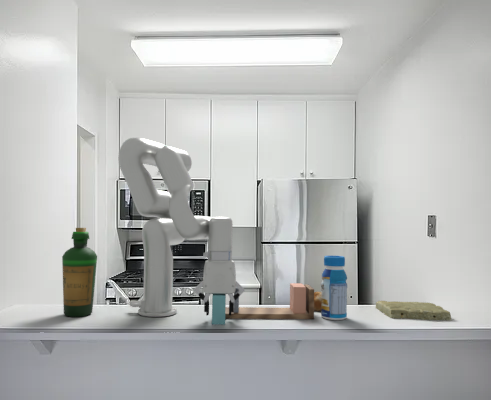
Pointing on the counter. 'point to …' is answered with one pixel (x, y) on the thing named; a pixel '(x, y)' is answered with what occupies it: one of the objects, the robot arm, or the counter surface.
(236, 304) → the bookend
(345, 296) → the beverage bottle
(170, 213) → the robot arm
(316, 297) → the bread roll
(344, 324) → the counter surface
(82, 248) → the bottle
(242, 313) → the wooden book rack
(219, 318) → the teal rectangular block
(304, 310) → the salmon pink block
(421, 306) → the decorative tile
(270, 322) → the counter surface
